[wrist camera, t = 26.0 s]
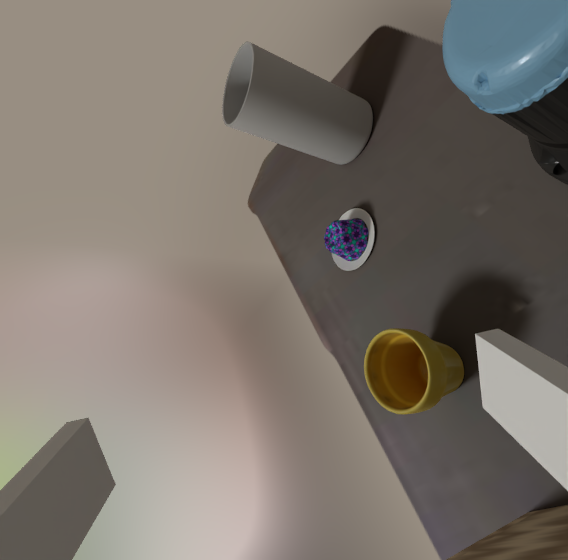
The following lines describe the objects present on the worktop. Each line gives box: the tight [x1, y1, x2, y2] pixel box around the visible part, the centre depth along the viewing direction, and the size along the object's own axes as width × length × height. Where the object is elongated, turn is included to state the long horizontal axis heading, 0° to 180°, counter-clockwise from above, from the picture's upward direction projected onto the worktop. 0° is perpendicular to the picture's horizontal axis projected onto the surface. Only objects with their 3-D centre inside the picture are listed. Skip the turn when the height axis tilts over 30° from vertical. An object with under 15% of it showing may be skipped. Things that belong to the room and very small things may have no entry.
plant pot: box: [364, 329, 464, 414], centre depth 44 cm, size 10×10×10 cm
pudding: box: [324, 208, 375, 271], centre depth 63 cm, size 12×12×5 cm
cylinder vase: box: [222, 42, 373, 164], centre depth 60 cm, size 12×12×25 cm
